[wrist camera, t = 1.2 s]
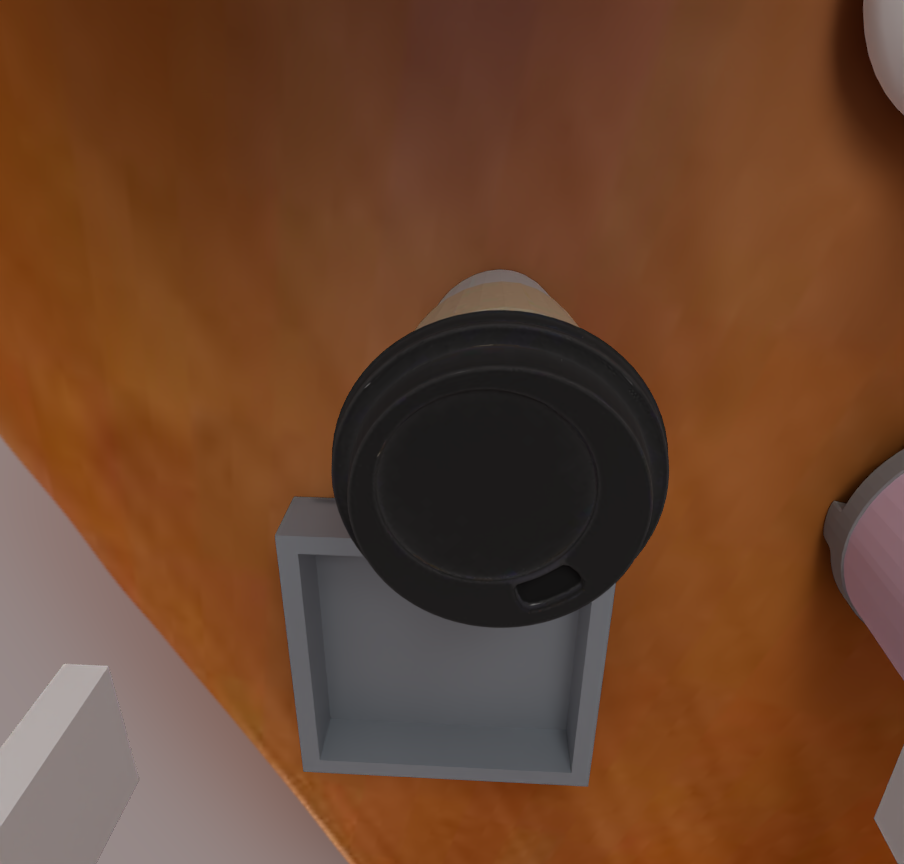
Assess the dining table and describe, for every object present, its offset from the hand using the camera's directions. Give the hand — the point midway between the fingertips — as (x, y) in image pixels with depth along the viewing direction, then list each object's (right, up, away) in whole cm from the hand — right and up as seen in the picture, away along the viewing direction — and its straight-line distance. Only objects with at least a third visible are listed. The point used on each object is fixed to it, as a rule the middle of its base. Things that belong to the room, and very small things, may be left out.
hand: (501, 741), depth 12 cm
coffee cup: (+1, +10, +20) cm, 22 cm away
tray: (-1, -6, +27) cm, 28 cm away
